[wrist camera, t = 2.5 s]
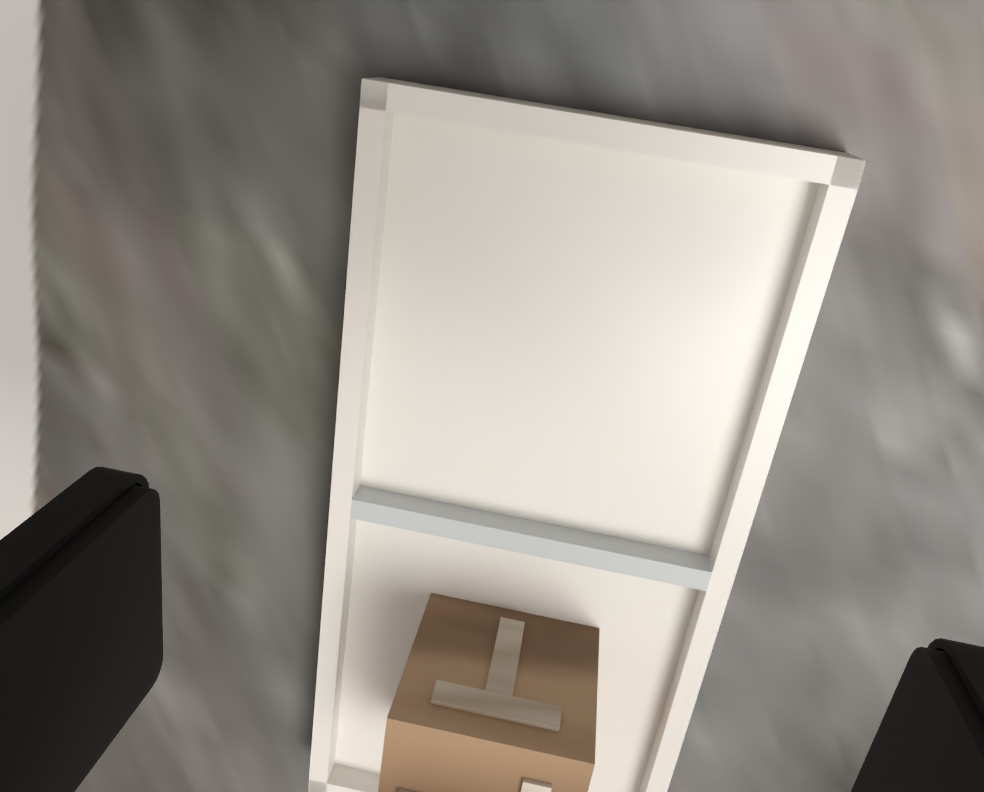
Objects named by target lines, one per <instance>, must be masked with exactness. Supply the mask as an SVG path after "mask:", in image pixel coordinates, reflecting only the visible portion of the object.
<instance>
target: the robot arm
mask: <svg viewBox="0 0 984 792" xmlns="http://www.w3.org/2000/svg"><path fill="white" fill-rule="evenodd" d="M162 661H163V628H162V578H161V529H160V498H159V494H158V492H157V491H156V490H154V489H150V488H149V484H148V482H147V479H146V478H145V477H144V476H142V475H139V474H134V473H130V472H125V471H120V470H115V469H110V468H105V467H95V468H93V469H92V470H90V471H88V472H87V473H86V474H85V475H83V476H82V477H81V478H80V479H78V480H77V481H76V482H74V483H73V484H72V485H71V486H69V487H68V488H67V489H65V490H64V491H63V492H62V493H60V494H59V495H58V496H56V497H55V498H54V499H53V500H51V501H50V502H49V503H47V504H46V505H45V506H44V507H42V508H41V509H40V510H38V511H37V512H36V513H35V514H33V515H32V516H31V517H29V518H28V519H27V520H26V521H24V522H23V523H22V524H21V525H19V526H18V527H17V528H15V529H14V530H13V531H11V532H10V533H9V534H8V535H6V536H5V537H4V538H3V539H1V540H0V792H75V790H76V789H77V788H78V786H79V785H80V784H81V782H82V781H83V780H84V778H85V777H86V776H87V774H88V773H89V771H90V770H91V769H92V767H93V766H94V765H95V763H96V762H97V761H98V759H99V758H100V757H101V755H102V754H103V753H104V751H105V750H106V749H107V747H108V746H109V745H110V743H111V742H112V741H113V739H114V738H115V736H116V735H117V734H118V732H119V731H120V730H121V728H122V727H123V726H124V724H125V723H126V722H127V720H128V719H129V718H130V716H131V715H132V714H133V712H134V711H135V710H136V708H137V707H138V705H139V704H140V703H141V701H142V700H143V699H144V697H145V696H146V695H147V693H148V692H149V691H150V689H151V688H152V686H153V685H154V683H155V682H156V679H157V677H158V675H159V672H160V669H161V666H162ZM851 792H984V647H981V646H976V645H971V644H966V643H961V642H956V641H951V640H947V639H942V638H940V639H935V640H934V641H933V642H931V643H930V644H929V646H928V648H924V647H919V648H917V649H915V650H914V651H913V653H912V655H911V656H910V658H909V661H908V663H907V665H906V668H905V670H904V672H903V674H902V677H901V679H900V681H899V683H898V686H897V688H896V690H895V693H894V695H893V697H892V699H891V702H890V704H889V706H888V708H887V711H886V713H885V715H884V718H883V720H882V722H881V724H880V727H879V729H878V731H877V733H876V736H875V738H874V740H873V743H872V745H871V747H870V749H869V752H868V754H867V756H866V758H865V761H864V763H863V765H862V768H861V770H860V772H859V774H858V777H857V779H856V781H855V783H854V786H853V788H852V790H851Z"/></svg>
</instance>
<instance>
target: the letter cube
mask: <svg viewBox="0 0 984 792" xmlns="http://www.w3.org/2000/svg"><path fill="white" fill-rule="evenodd" d="M599 630H600V628H597V627H592V626H587V625H583V624H578V623H573V622H568V621H563V620H559V619H554V618H549V617H544V616H540V615H535V614H530V613H525V612H521V611H516V610H511V609H506V608H502V607H497V606H492V605H487V604H482V603H478V602H473V601H468V600H463V599H459V598H454V597H449V596H444V595H440V594H435V593H431V594H430V597H429V600H428V603H427V605H426V608H425V611H424V614H423V617H422V620H421V622H420V625H419V628H418V631H417V634H416V637H415V640H414V642H413V645H412V648H411V651H410V654H409V657H408V659H407V662H406V665H405V668H404V671H403V674H402V676H401V679H400V682H399V685H398V688H397V691H396V694H395V696H394V699H393V702H392V705H391V708H390V711H389V713H388V716H387V721H386V729H385V737H384V746H383V754H382V762H381V770H380V778H379V787H378V792H588V789H589V785H590V781H591V777H592V773H593V770H594V766H595V747H596V717H597V688H598V659H599Z"/></svg>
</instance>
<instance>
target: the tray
mask: <svg viewBox="0 0 984 792" xmlns="http://www.w3.org/2000/svg"><path fill="white" fill-rule="evenodd" d="M866 162H867V161H866V160H864V159H861V158H859V157H856V156H854V155H851V154H849V153H845V152H839V151H833V150H827V149H821V148H815V147H808V146H802V145H796V144H790V143H784V142H778V141H771V140H765V139H759V138H753V137H747V136H741V135H734V134H728V133H722V132H716V131H710V130H704V129H698V128H691V127H685V126H679V125H673V124H667V123H661V122H654V121H648V120H642V119H636V118H630V117H624V116H618V115H611V114H605V113H599V112H593V111H587V110H581V109H574V108H568V107H562V106H556V105H550V104H544V103H537V102H531V101H525V100H519V99H513V98H507V97H501V96H494V95H488V94H482V93H476V92H470V91H464V90H457V89H451V88H445V87H439V86H433V85H427V84H421V83H414V82H408V81H402V80H396V79H390V78H384V77H376V78H363V79H362V82H361V96H360V109H359V122H358V135H357V149H356V162H355V175H354V189H353V202H352V215H351V228H350V242H349V255H348V268H347V281H346V295H345V308H344V321H343V335H342V348H341V361H340V374H339V388H338V401H337V414H336V427H335V441H334V454H333V467H332V481H331V494H330V507H329V520H328V534H327V547H326V560H325V573H324V587H323V600H322V613H321V627H320V640H319V653H318V666H317V680H316V693H315V706H314V720H313V733H312V746H311V759H310V773H309V786H308V792H378V787H379V778H380V770H381V762H382V754H383V746H384V737H385V729H386V721H387V716H388V713H389V711H390V708H391V705H392V702H393V699H394V696H395V694H396V691H397V688H398V685H399V682H400V679H401V676H402V674H403V671H404V668H405V665H406V662H407V659H408V657H409V654H410V651H411V648H412V645H413V642H414V640H415V637H416V634H417V631H418V628H419V625H420V622H421V620H422V617H423V614H424V611H425V608H426V605H427V603H428V600H429V597H430V594H431V593H435V594H440V595H444V596H449V597H454V598H459V599H463V600H468V601H473V602H478V603H482V604H487V605H492V606H497V607H502V608H506V609H511V610H516V611H521V612H525V613H530V614H535V615H540V616H544V617H549V618H554V619H559V620H563V621H568V622H573V623H578V624H583V625H587V626H592V627H597V628H600V630H599V659H598V688H597V717H596V747H595V766H594V770H593V773H592V777H591V781H590V785H589V789H588V792H667V790H668V787H669V784H670V781H671V778H672V775H673V772H674V768H675V765H676V762H677V759H678V756H679V753H680V749H681V746H682V743H683V740H684V737H685V734H686V730H687V727H688V724H689V721H690V718H691V715H692V711H693V708H694V705H695V702H696V699H697V696H698V693H699V689H700V686H701V683H702V680H703V677H704V674H705V670H706V667H707V664H708V661H709V658H710V655H711V651H712V648H713V645H714V642H715V639H716V636H717V633H718V629H719V626H720V623H721V620H722V617H723V614H724V610H725V607H726V604H727V601H728V598H729V595H730V591H731V588H732V585H733V582H734V579H735V576H736V572H737V569H738V566H739V563H740V560H741V557H742V554H743V550H744V547H745V544H746V541H747V538H748V535H749V531H750V528H751V525H752V522H753V519H754V516H755V512H756V509H757V506H758V503H759V500H760V497H761V494H762V490H763V487H764V484H765V481H766V478H767V475H768V471H769V468H770V465H771V462H772V459H773V456H774V452H775V449H776V446H777V443H778V440H779V437H780V433H781V430H782V427H783V424H784V421H785V418H786V415H787V411H788V408H789V405H790V402H791V399H792V396H793V392H794V389H795V386H796V383H797V380H798V377H799V373H800V370H801V367H802V364H803V361H804V358H805V354H806V351H807V348H808V345H809V342H810V339H811V336H812V332H813V329H814V326H815V323H816V320H817V317H818V313H819V310H820V307H821V304H822V301H823V298H824V294H825V291H826V288H827V285H828V282H829V279H830V276H831V272H832V269H833V266H834V263H835V260H836V257H837V253H838V250H839V247H840V244H841V241H842V238H843V234H844V231H845V228H846V225H847V222H848V219H849V215H850V212H851V209H852V206H853V203H854V200H855V197H856V193H857V190H858V187H859V184H860V181H861V178H862V174H863V171H864V168H865V165H866Z"/></svg>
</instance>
